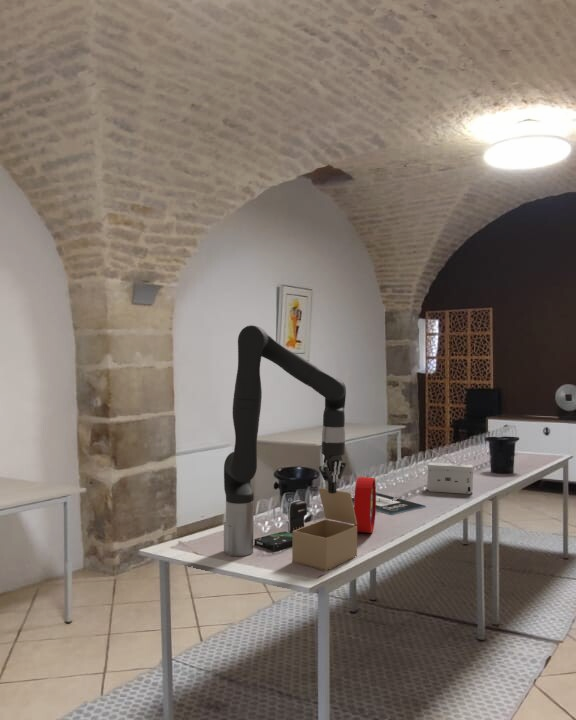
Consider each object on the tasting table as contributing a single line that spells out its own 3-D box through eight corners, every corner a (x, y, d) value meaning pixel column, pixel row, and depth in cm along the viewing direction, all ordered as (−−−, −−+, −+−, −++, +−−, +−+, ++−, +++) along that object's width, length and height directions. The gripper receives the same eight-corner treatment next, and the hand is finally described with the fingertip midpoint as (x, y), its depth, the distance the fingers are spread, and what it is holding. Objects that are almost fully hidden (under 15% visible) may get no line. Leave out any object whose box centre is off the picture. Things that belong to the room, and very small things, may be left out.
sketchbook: (391, 516, 272) (391, 511, 272) (340, 502, 295) (340, 497, 295) (425, 508, 285) (425, 503, 285) (374, 495, 309) (374, 490, 309)
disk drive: (274, 553, 222) (305, 544, 233) (274, 545, 222) (305, 536, 233) (253, 546, 230) (284, 537, 240) (253, 538, 230) (284, 530, 240)
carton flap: (349, 493, 215) (350, 492, 215) (318, 488, 222) (319, 487, 223) (356, 524, 219) (357, 523, 219) (325, 518, 226) (326, 517, 227)
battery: (294, 535, 242) (295, 504, 241) (287, 533, 244) (287, 502, 244) (308, 531, 247) (308, 500, 246) (300, 529, 249) (301, 499, 249)
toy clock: (369, 539, 237) (370, 483, 237) (353, 538, 239) (354, 482, 238) (375, 524, 257) (376, 473, 256) (360, 523, 258) (361, 472, 257)
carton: (326, 570, 204) (326, 538, 204) (292, 562, 212) (292, 530, 212) (356, 556, 219) (357, 525, 219) (323, 548, 227) (324, 519, 226)
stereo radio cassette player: (472, 491, 316) (473, 449, 316) (472, 495, 309) (473, 452, 308) (427, 488, 322) (428, 447, 321) (426, 492, 314) (427, 450, 313)
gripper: (334, 437, 225) (333, 488, 225) (312, 440, 215) (311, 494, 215) (353, 439, 221) (352, 491, 221) (331, 443, 210) (330, 498, 210)
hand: (332, 493), depth 218 cm, fingers closed
